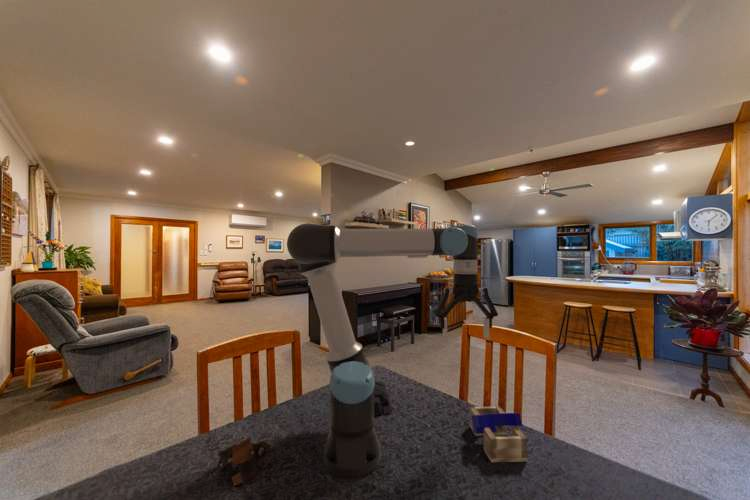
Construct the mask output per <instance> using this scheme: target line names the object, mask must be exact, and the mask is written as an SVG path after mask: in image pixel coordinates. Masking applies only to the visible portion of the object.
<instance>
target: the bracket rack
mask: <svg viewBox="0 0 750 500" xmlns="http://www.w3.org/2000/svg"><path fill="white" fill-rule="evenodd" d="M499 413H506V412H505V411H504V409H503V408H501V406H469V426H470V429H471V431H472V432H473V434H474V436H475V437H483V450H484V452H485V454H486V456H487V458H488V460H489V461H490V462H491V463H521V462H526V463H527V462H528V437H526V435H525V434H524V433H523V432H522V430H520V429H519V426H512V427H511V435H510V436H508V426H495V428H496V432H492V431H491V430H490V428H484V433H481V434H477V433H474V429H473V423H472V418H471V415H483V414H499Z"/></svg>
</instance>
